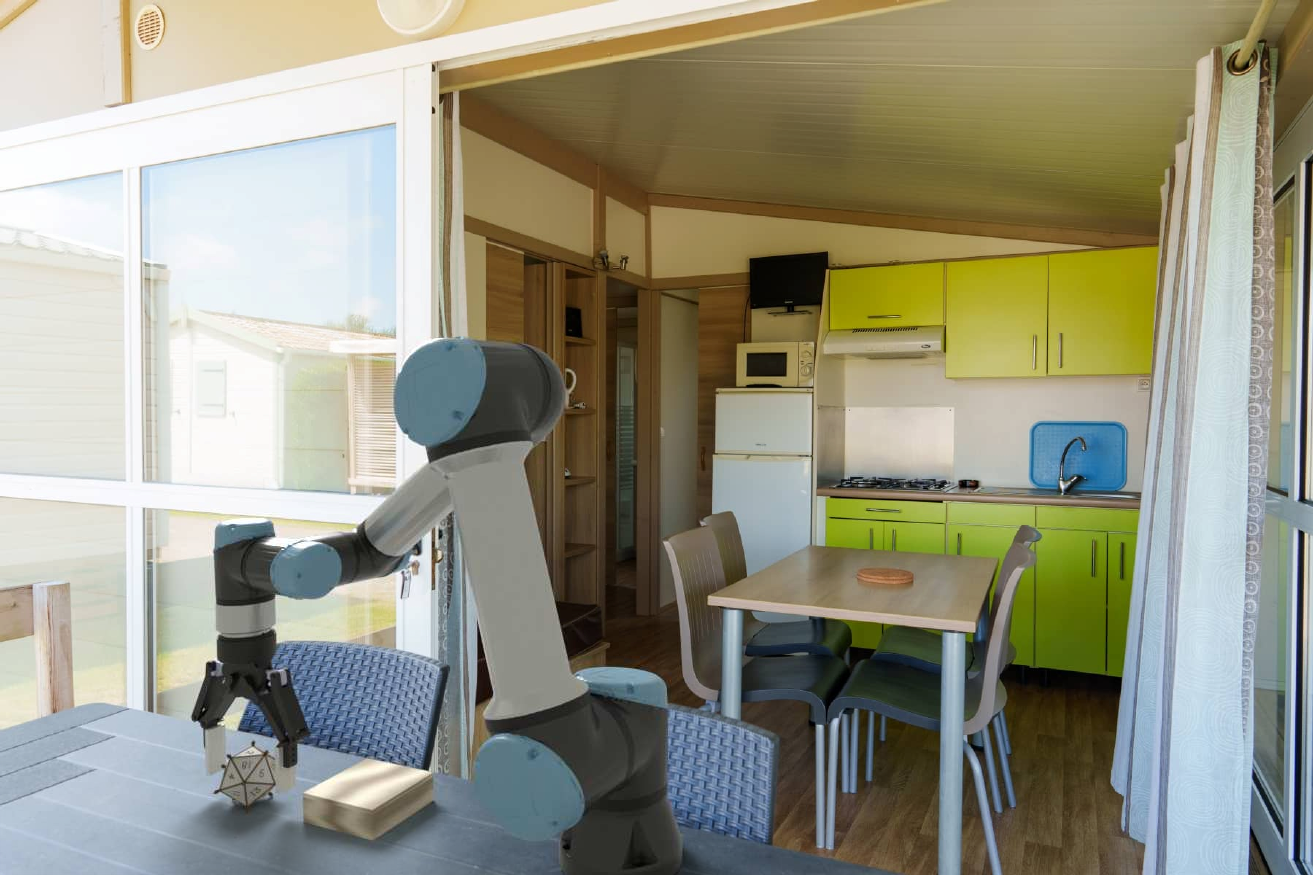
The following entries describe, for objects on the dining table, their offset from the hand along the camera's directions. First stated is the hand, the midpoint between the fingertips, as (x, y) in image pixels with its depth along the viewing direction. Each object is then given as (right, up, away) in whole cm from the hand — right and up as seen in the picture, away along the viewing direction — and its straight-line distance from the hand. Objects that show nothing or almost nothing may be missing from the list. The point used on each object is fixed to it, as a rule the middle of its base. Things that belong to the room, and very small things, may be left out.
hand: (250, 780), depth 119 cm
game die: (0, -4, 0) cm, 4 cm away
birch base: (+18, -3, -2) cm, 18 cm away
